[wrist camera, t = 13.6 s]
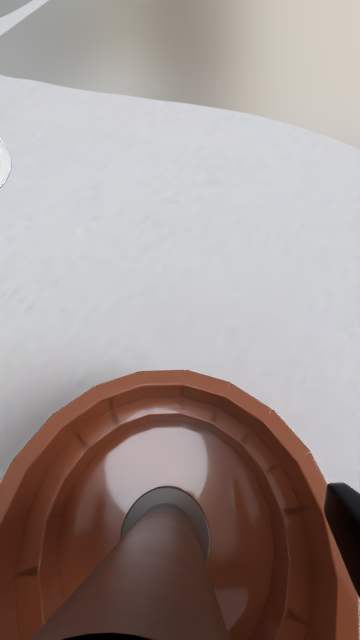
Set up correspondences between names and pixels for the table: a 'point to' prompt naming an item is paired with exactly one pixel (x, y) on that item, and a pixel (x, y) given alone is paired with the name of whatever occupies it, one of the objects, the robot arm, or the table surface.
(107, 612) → the brown peg
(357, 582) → the robot arm
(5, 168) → the honey pot
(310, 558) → the bowl
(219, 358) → the table surface
